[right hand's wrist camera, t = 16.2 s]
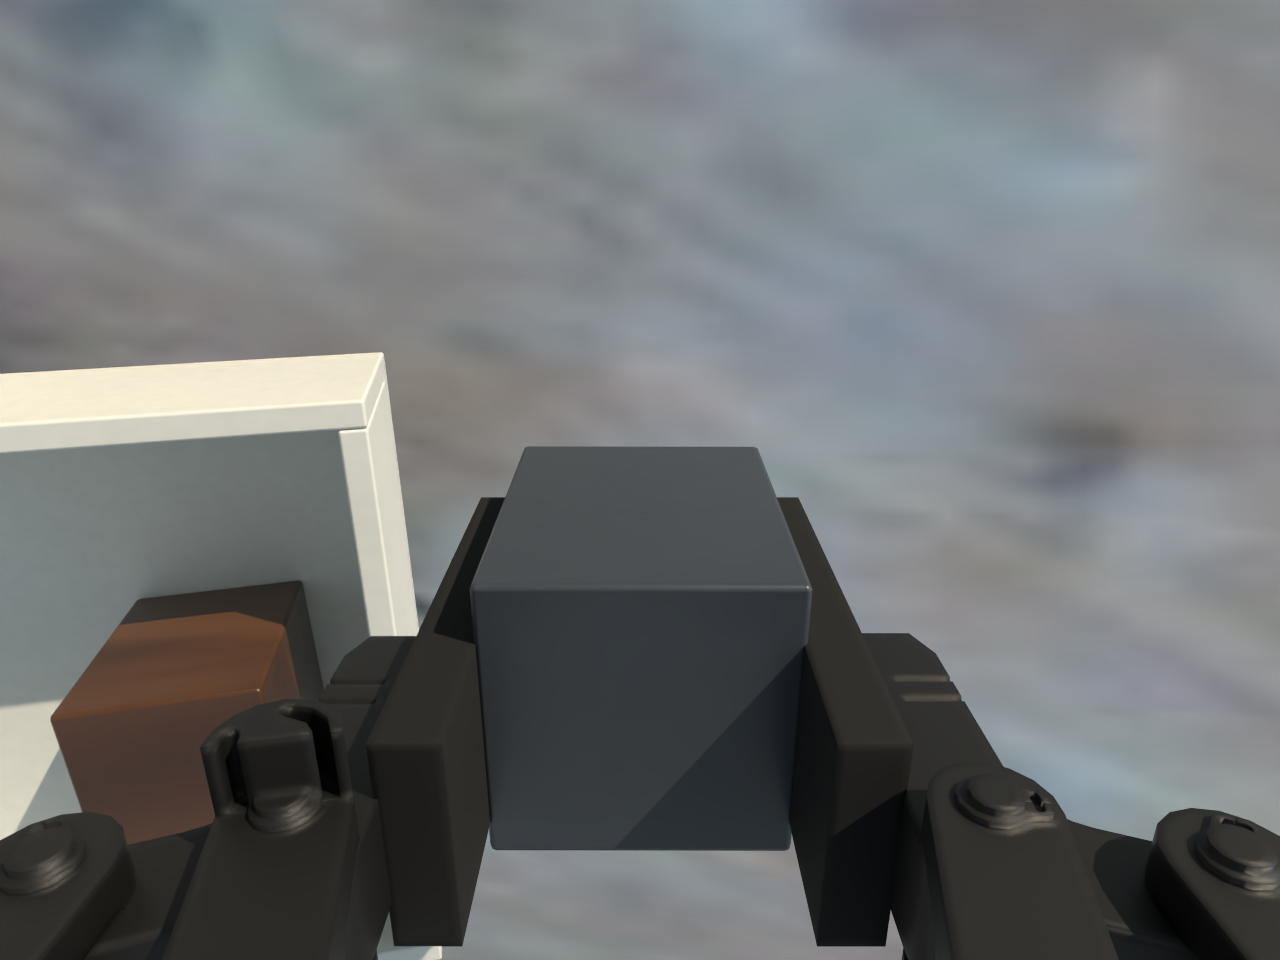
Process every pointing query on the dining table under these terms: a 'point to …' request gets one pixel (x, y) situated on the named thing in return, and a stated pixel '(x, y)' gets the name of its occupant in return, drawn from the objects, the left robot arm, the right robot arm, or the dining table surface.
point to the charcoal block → (640, 652)
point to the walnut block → (179, 699)
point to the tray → (186, 525)
